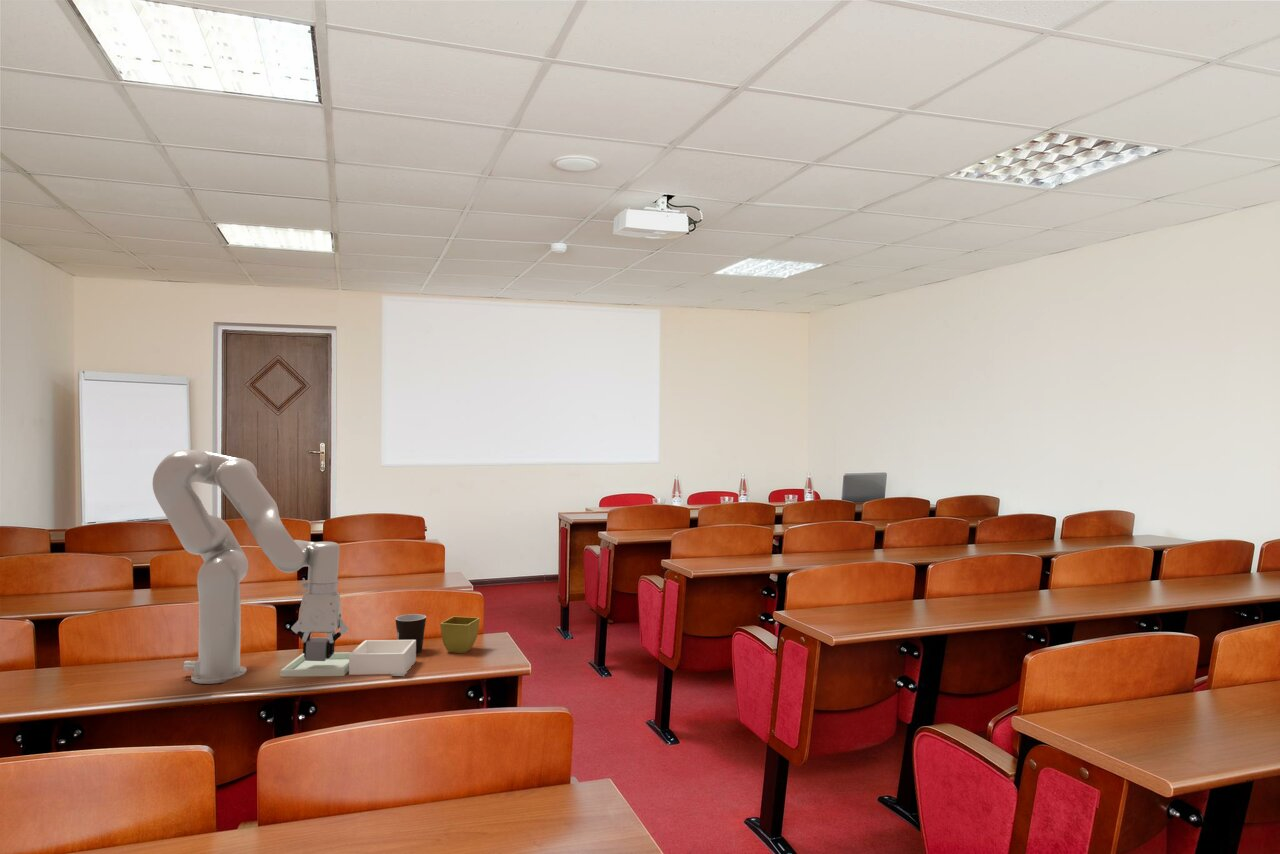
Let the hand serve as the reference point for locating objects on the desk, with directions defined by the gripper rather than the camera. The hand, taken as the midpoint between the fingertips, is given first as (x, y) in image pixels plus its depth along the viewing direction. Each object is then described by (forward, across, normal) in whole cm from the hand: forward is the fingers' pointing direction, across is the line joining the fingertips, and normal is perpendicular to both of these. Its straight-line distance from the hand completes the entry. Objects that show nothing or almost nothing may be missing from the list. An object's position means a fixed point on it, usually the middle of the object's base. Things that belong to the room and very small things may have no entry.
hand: (318, 655), depth 206 cm
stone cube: (+1, 0, 0) cm, 1 cm away
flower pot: (+2, +35, +17) cm, 39 cm away
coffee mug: (+3, +21, +18) cm, 28 cm away
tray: (+4, +1, 0) cm, 4 cm away
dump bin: (+3, +17, 0) cm, 18 cm away
